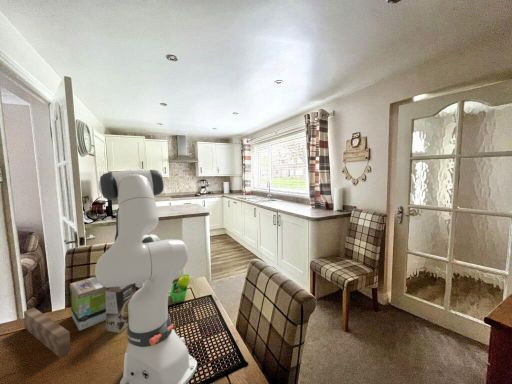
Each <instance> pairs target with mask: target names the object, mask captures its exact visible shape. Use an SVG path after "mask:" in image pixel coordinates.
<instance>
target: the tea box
mask: <svg viewBox="0 0 512 384" xmlns="http://www.w3.org/2000/svg"><path fill="white" fill-rule="evenodd" d="M106 290H108V288H106V287H104V286H102V285H101V284H100V283H99V282H98V280H97V278H96V276H93V277H90V278H85V279H82V280H77V281H75V282H72V283H71V282H70V284H69V295H70V297H69V299H70V315H71V317H72V320H73V322H74V323H75V326H76V328H77V329H78V331H82V330H84V329H88V328H90V327H92V326H95V325H97V324H99V323H102V322H104V321H106V294H105V291H106Z"/></svg>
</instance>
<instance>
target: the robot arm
mask: <svg viewBox="0 0 512 384" xmlns="http://www.w3.org/2000/svg"><path fill="white" fill-rule="evenodd" d="M164 188H165V179H164V177H163V174H162V173H161V172H160V171H159V170H155V169H148V170H146V169H144V170H143V169H137V170H135V169H133V170H132V169H129V170H121V171H115V172H113V171H109V172H105V173H103V174H101V176H100V177H99V180H98V190H99V192H100V194H101V195H102V197H103V198H104V199H106V200H108V201H117V204H118V208H117V210H116V215H115V223H116V224H115V227H116V228H115V230H116V231H115V236H114V242H113V244H112V245H111V246H110V247H109V248H108V249H107V250H106V251H105V252H104V253H103V254H101V256H100V257H99V258H98V260H97V262H96V264H95V267H94V275H95V277H96V278H97V280H98V282H99V283H100V284H101V285H102V286H104V287H106V288H107V289H108V288H109V289H110V288H112V287H120V286H127V285H130V284H134V283H136V287H137V288H138V290H136V292H135V293H134V294H133V296H132V297H131V299H130V301H129V303H128V319H129V324H128V326H127V327H126V329H127V330H126V337H127V341H128V343H127V348H126V349H125V353H124V357H123V358H124V359H123V361H124V362H123V375H122V378H121V379H120V382H119V384H187V383H189V381H190V380H191V379H192V377H193V376H194V375H195V372H196V371H197V367H198V361H197V360H196V359H195V358H194V357H193V356H192V355H191V354H189V350H188V347H187V345H186V339H185V337H184V336H181V337H179V335H178V333H176V330H174V327H175V326H174V325H175V323H172V321H171V318H170V316H169V312H168V311H169V309H168V306H169V305H168V304H169V295H170V291H171V288H172V285H173V283H174V280H175V278H176V277H177V275H178V274H179V273H180V272H181V271H182V269H183V268H185V266H186V264H187V263H188V261H189V255H190V253H189V249H188V246H187V245H186V243H185V242H184V241H183V240H181V239H162V240H161V239H160V237H159V236H157V235H156V234H154V233H151V232H152V231H154V230H155V229H156V228H157V227H158V224H159V222H160V221H159V213H158V209H157V204H156V199H155V196H158V195H161V194H162V193H163V191H164ZM149 233H151V234H149Z"/></svg>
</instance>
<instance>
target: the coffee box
mask: <svg viewBox="0 0 512 384" xmlns="http://www.w3.org/2000/svg"><path fill="white" fill-rule="evenodd" d="M136 291H137V290H136V283H134V284H130V285H127V286H120V287H110V288H109V289H108V288H107V290H106V291H105V294H106V320H105V322H106V331H107V332H111V333H112V332H113V333H118V334H119V333H122V332H123V331H124V330H125V329H127V327H128V324H129V319H128V303H129V301H130V299H131V297H132V296H133V294H134V293H135V292H136Z"/></svg>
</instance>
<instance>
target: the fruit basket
mask: <svg viewBox="0 0 512 384" xmlns="http://www.w3.org/2000/svg"><path fill="white" fill-rule="evenodd" d="M190 279H191V277H190V274H188V273H185V274H183V276H181V277H180V278H178V281H177V282H172V284H171V287H170V290H169V295H170V296H171V301H172V302H173V303H179V302H184V301H186V299H185V298H186V295H187V291H188V287H189V284H190Z"/></svg>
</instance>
